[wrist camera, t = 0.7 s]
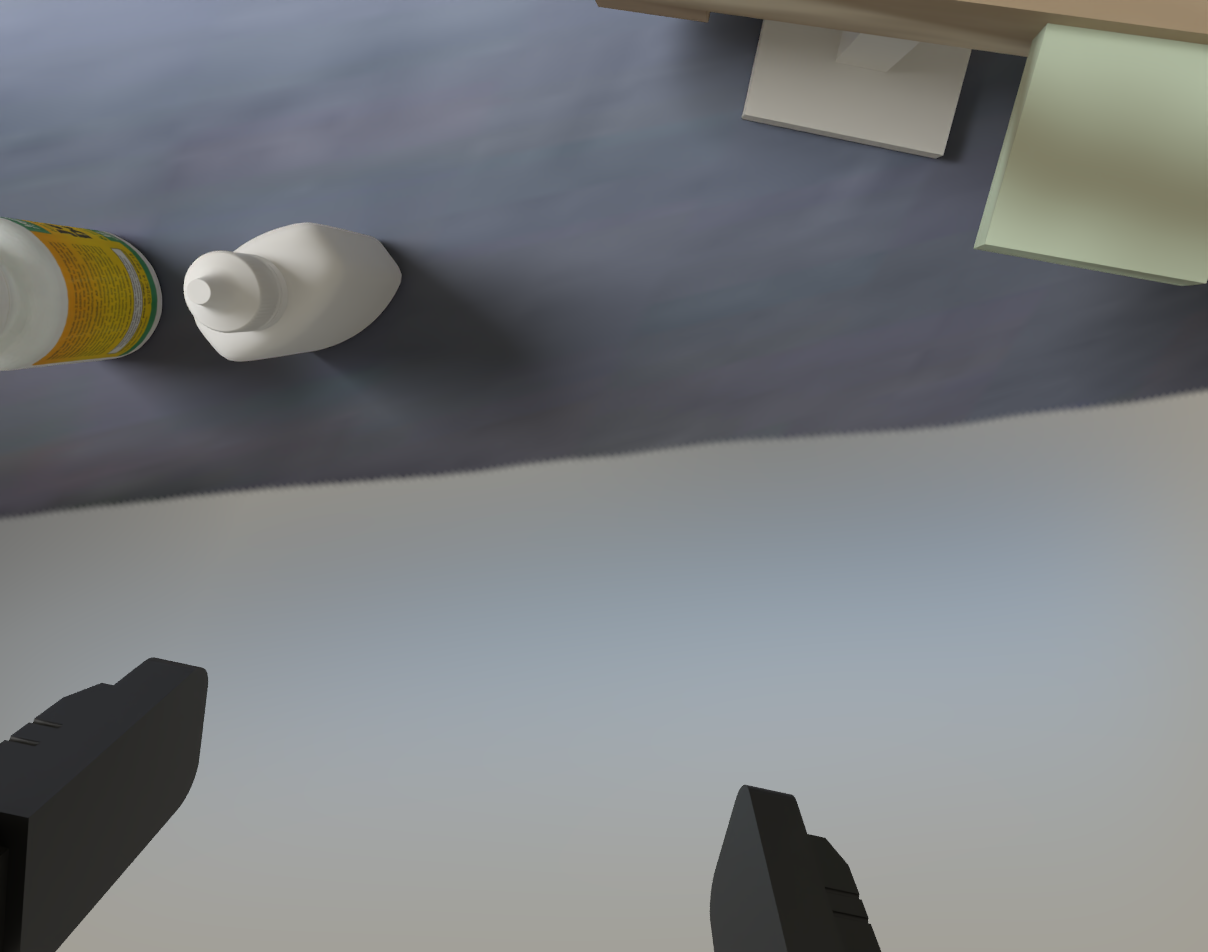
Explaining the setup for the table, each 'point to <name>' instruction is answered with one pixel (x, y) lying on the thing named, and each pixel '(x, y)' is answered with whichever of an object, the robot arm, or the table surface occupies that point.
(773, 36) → the chute stand
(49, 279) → the supplement bottle
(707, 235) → the table surface
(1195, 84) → the tilting chute
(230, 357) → the eye dropper bottle
